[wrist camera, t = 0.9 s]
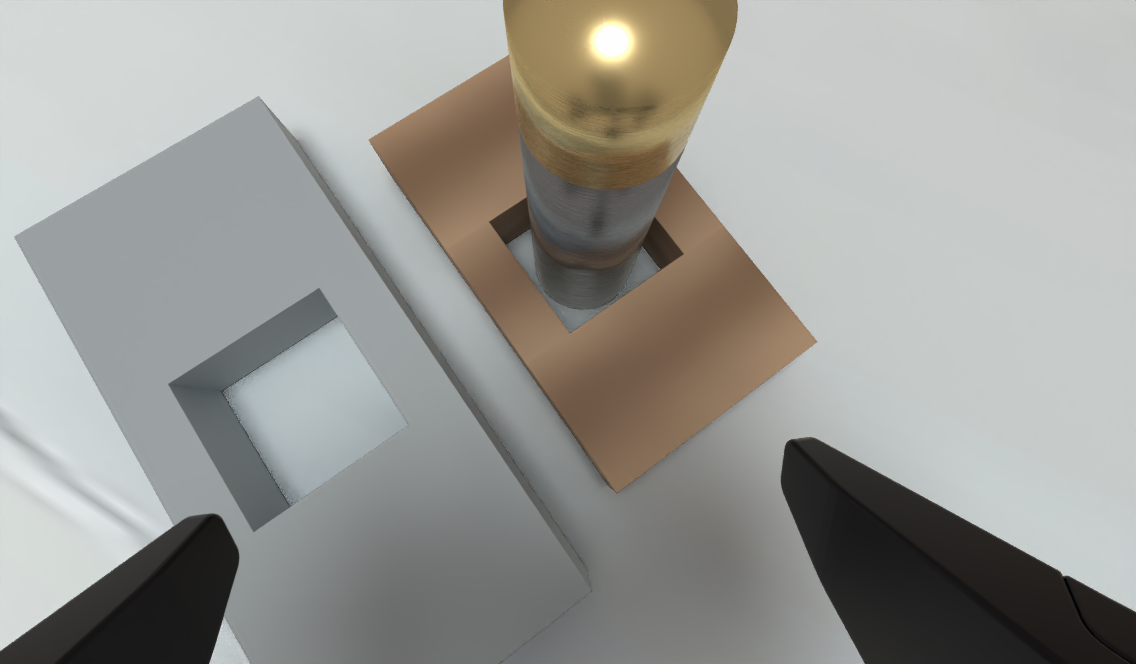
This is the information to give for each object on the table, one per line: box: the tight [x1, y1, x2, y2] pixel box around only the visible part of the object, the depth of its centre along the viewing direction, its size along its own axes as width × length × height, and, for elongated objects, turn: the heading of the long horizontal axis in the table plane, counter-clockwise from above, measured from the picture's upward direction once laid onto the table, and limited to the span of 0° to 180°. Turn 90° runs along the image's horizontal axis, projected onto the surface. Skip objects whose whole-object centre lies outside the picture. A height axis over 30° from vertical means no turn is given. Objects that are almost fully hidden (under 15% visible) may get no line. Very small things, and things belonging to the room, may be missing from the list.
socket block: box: [369, 55, 817, 493], centre depth 21 cm, size 16×9×3 cm, turn 36°
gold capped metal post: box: [503, 0, 738, 309], centre depth 16 cm, size 4×4×14 cm
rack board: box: [14, 96, 592, 664], centre depth 20 cm, size 22×10×3 cm, turn 36°
